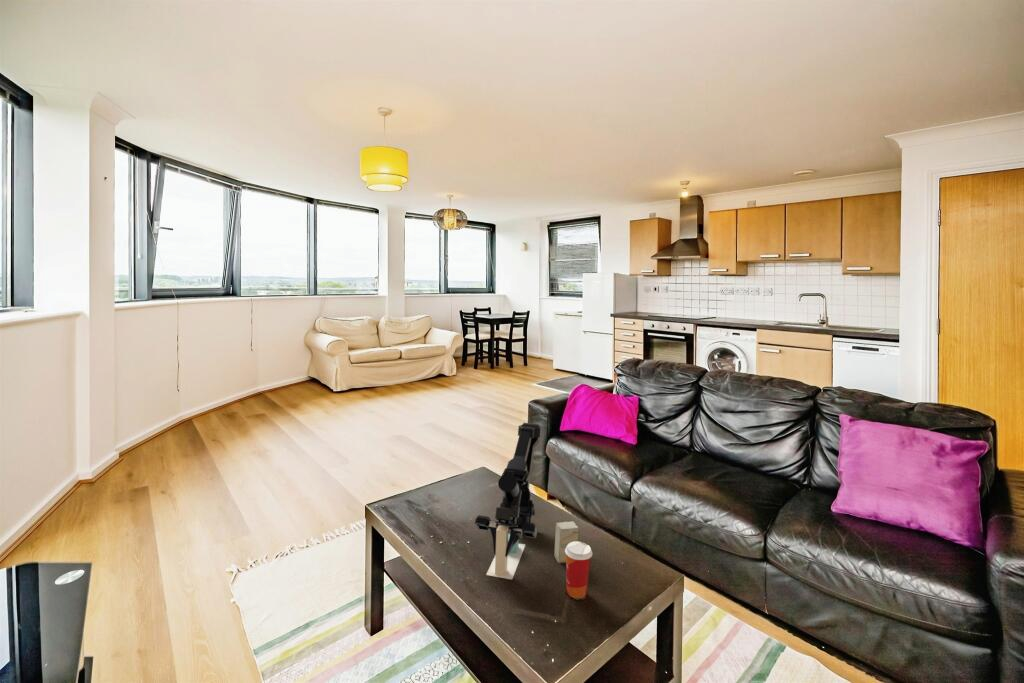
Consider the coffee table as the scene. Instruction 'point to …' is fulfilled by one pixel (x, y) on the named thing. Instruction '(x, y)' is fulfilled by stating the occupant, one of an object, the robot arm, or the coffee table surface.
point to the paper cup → (577, 568)
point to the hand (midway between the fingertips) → (500, 555)
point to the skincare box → (564, 538)
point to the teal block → (514, 545)
